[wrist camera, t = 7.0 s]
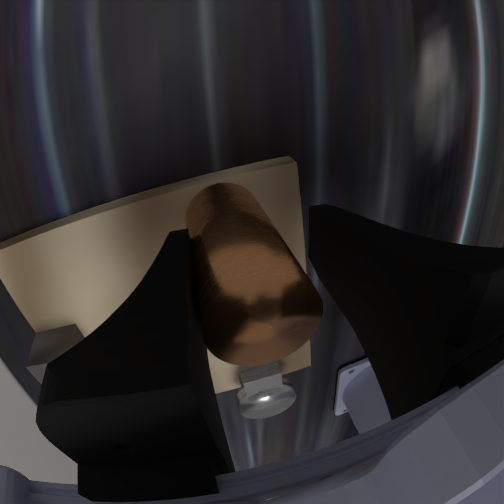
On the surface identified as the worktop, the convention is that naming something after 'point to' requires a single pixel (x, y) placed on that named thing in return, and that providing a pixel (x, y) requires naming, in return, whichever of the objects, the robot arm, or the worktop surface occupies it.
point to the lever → (249, 294)
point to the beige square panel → (130, 259)
